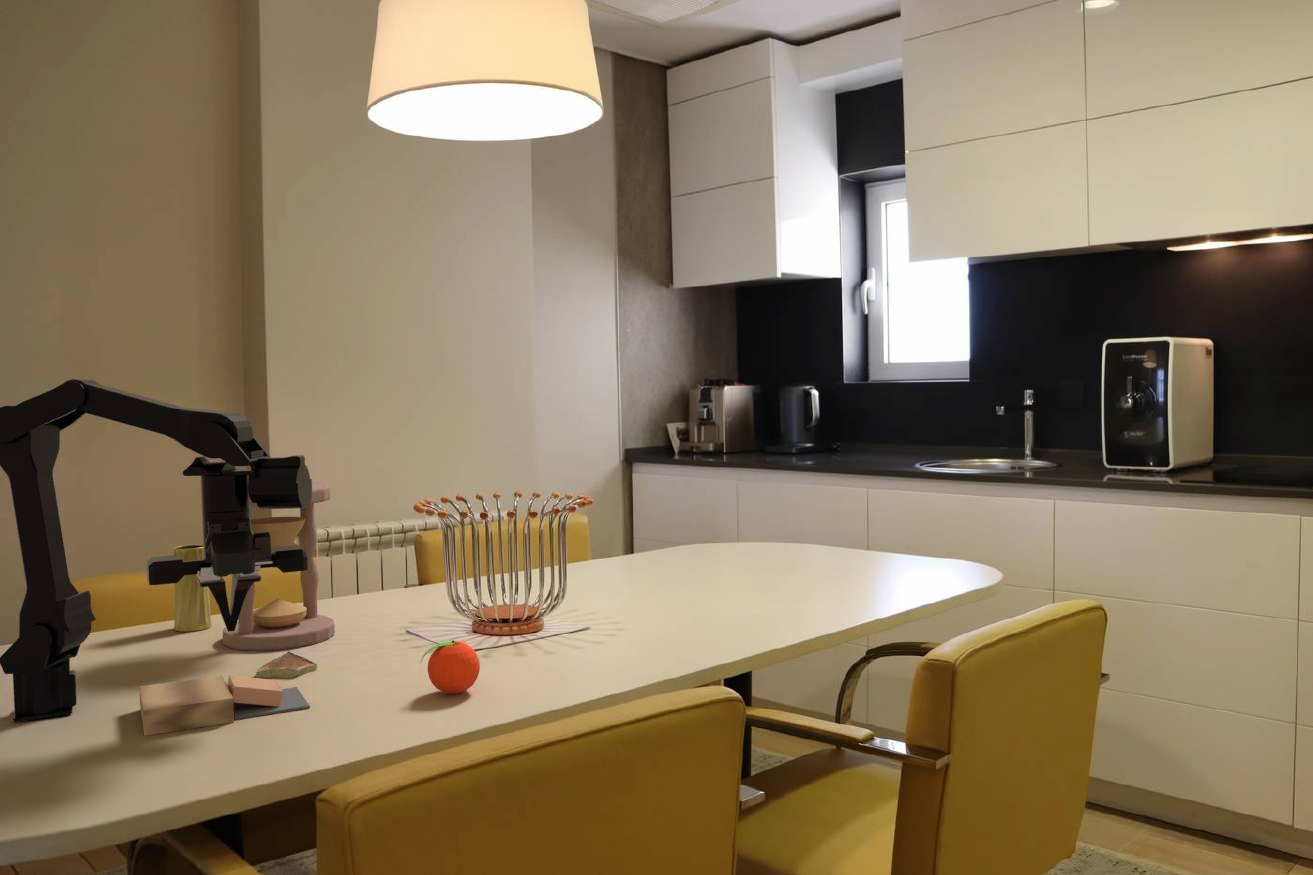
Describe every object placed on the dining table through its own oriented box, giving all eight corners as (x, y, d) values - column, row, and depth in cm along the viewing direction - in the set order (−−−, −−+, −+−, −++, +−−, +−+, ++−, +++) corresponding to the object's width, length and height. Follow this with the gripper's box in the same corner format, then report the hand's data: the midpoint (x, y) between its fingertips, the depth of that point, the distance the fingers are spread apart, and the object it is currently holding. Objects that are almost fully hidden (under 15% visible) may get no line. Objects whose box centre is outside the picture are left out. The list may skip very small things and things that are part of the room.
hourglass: (254, 657, 163) (248, 495, 162) (203, 640, 175) (198, 489, 173) (355, 636, 176) (350, 486, 175) (301, 621, 188) (297, 481, 186)
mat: (235, 719, 132) (235, 717, 132) (226, 699, 141) (226, 696, 141) (309, 708, 136) (309, 705, 136) (296, 689, 145) (296, 686, 145)
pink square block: (231, 702, 133) (234, 686, 133) (225, 690, 138) (229, 675, 138) (279, 706, 136) (283, 691, 136) (272, 695, 141) (276, 680, 141)
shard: (288, 660, 162) (288, 649, 162) (336, 661, 161) (335, 649, 161) (253, 680, 151) (253, 668, 151) (304, 681, 151) (304, 668, 150)
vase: (167, 628, 183) (164, 547, 183) (202, 622, 188) (199, 542, 187) (182, 633, 179) (179, 550, 179) (218, 627, 184) (215, 546, 183)
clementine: (426, 704, 137) (424, 650, 137) (415, 690, 143) (413, 639, 143) (486, 696, 140) (484, 643, 140) (473, 683, 146) (472, 632, 146)
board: (144, 735, 126) (143, 710, 126) (140, 709, 137) (139, 686, 136) (234, 722, 131) (233, 698, 131) (223, 697, 141) (222, 675, 141)
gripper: (148, 522, 124) (154, 654, 124) (313, 510, 132) (317, 633, 133) (144, 513, 133) (149, 635, 134) (297, 503, 142) (302, 617, 143)
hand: (230, 630), depth 136 cm, fingers closed
